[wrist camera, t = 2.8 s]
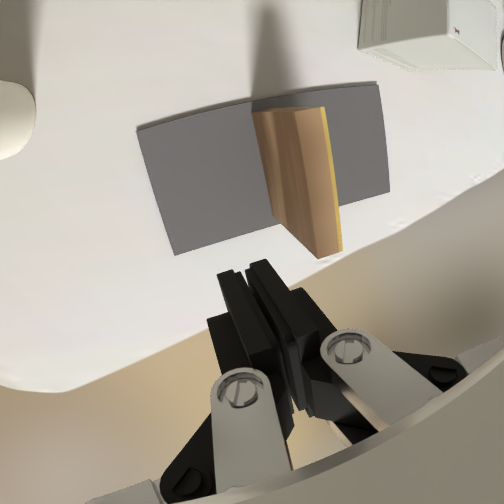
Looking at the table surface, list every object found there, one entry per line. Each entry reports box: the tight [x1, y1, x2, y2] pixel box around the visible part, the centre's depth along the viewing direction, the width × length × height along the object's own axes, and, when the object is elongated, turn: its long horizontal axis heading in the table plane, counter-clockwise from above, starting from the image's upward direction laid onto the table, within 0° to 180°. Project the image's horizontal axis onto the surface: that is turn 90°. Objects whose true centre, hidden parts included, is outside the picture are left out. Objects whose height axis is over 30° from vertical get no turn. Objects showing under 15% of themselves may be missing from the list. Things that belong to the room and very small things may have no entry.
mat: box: [136, 85, 390, 256], centre depth 29 cm, size 24×12×1 cm, turn 101°
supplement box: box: [358, 0, 497, 71], centre depth 20 cm, size 7×7×13 cm
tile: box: [251, 107, 343, 259], centre depth 24 cm, size 2×10×10 cm, turn 11°
